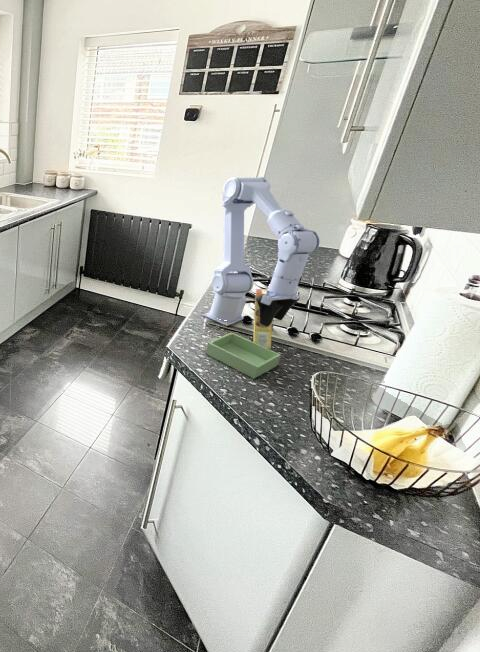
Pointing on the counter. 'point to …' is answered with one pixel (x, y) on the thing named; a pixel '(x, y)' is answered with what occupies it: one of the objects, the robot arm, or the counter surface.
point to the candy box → (261, 325)
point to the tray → (243, 354)
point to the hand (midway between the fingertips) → (270, 321)
